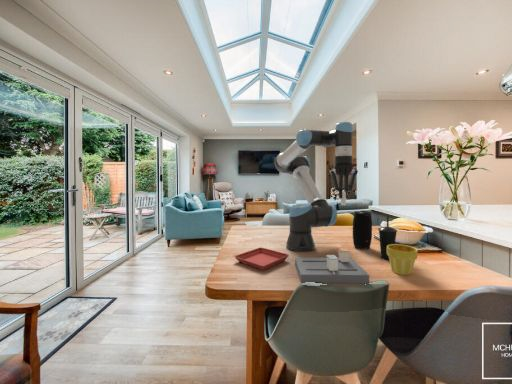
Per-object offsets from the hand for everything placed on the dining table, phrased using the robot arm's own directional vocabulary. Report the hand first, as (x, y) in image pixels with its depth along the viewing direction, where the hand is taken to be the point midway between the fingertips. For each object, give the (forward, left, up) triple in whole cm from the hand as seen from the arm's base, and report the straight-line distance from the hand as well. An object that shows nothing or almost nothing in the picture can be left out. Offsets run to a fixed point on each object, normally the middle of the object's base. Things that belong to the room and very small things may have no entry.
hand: (343, 205), depth 113 cm
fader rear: (+8, -17, -21) cm, 28 cm away
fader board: (+6, -25, -24) cm, 35 cm away
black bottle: (+17, +9, -25) cm, 31 cm away
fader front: (+9, -28, -21) cm, 36 cm away
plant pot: (+26, -4, -25) cm, 36 cm away
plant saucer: (-22, -34, -25) cm, 48 cm away
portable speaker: (+2, +18, -25) cm, 31 cm away
